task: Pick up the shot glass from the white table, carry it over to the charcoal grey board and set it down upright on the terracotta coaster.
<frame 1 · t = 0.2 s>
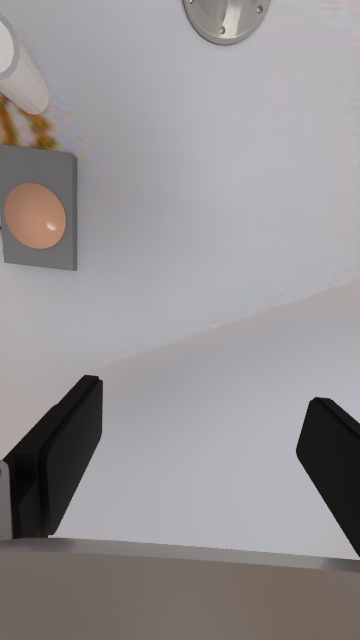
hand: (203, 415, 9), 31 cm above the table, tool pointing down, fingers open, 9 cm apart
coaster: (36, 217, 35), resting on board
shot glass: (32, 94, 32), on the table
board: (42, 213, 36), on the table
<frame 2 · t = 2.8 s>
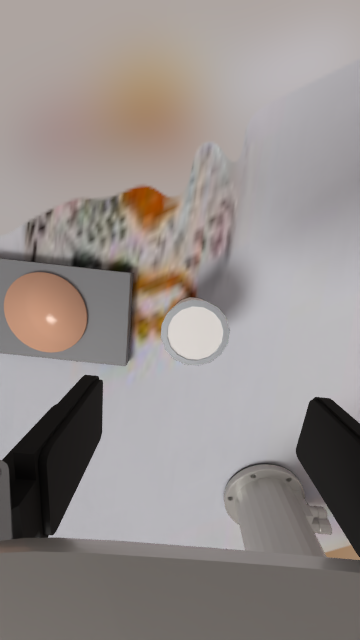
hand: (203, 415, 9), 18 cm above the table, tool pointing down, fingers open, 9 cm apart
coaster: (47, 313, 26), resting on board
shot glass: (191, 318, 27), on the table
board: (62, 312, 27), on the table
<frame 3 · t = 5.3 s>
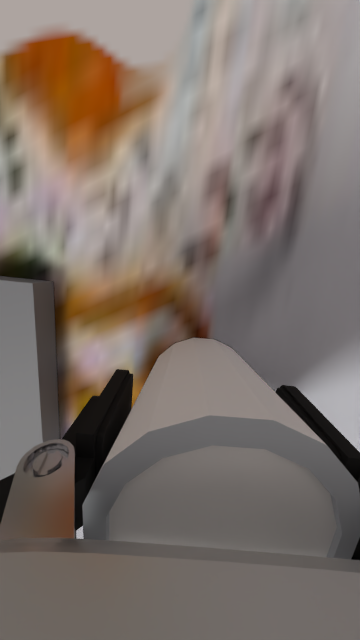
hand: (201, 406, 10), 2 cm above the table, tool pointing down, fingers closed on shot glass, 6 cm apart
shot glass: (198, 382, 12), on the table, touching gripper
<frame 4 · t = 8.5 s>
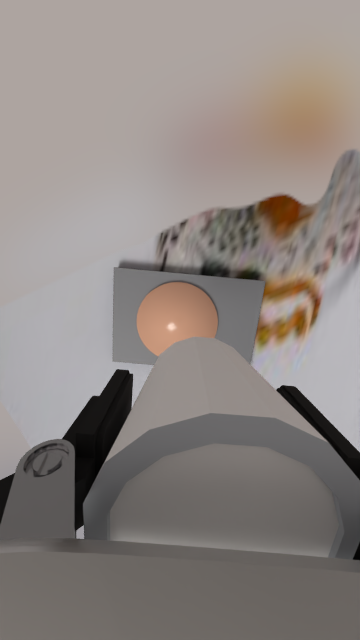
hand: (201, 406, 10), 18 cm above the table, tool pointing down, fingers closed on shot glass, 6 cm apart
coaster: (177, 322, 26), resting on board
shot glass: (198, 381, 12), point 16 cm above the table, touching gripper
board: (185, 320, 27), on the table
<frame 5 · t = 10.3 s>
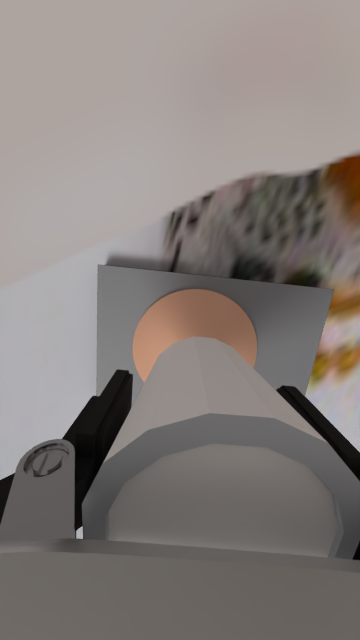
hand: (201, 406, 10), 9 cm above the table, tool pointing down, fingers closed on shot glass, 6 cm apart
coaster: (194, 349, 17), resting on board
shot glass: (198, 381, 12), point 7 cm above the table, touching gripper
board: (204, 344, 18), on the table
when the fingers open (5 cm above the table, at t = 11.6 s): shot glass drops 1 cm, resting on coaster.
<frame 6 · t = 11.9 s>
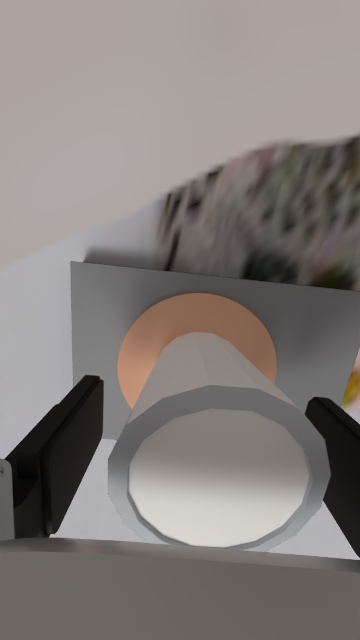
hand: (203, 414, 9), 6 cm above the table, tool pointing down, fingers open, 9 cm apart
coaster: (196, 369, 13), resting on board
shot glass: (198, 372, 13), point 2 cm above the table, touching coaster
board: (208, 361, 15), on the table
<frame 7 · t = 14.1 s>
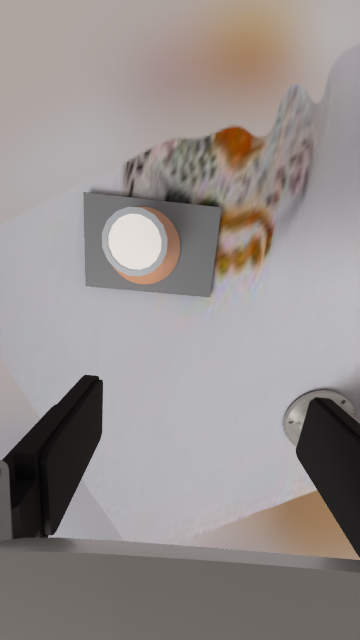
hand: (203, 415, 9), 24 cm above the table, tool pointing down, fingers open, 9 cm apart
coaster: (143, 247, 28), resting on board
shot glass: (144, 248, 28), point 2 cm above the table, touching coaster
board: (152, 249, 30), on the table
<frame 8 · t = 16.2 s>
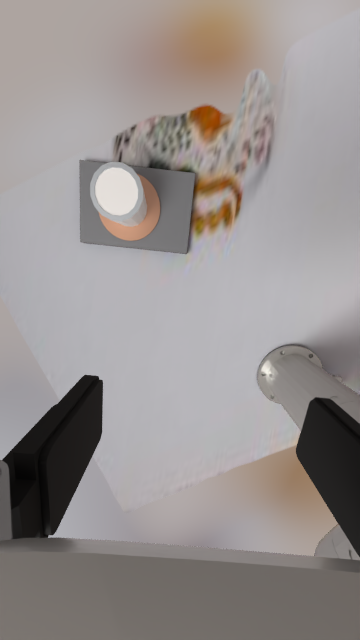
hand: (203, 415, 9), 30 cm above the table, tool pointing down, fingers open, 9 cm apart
coaster: (129, 208, 33), resting on board
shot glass: (129, 208, 33), point 2 cm above the table, touching coaster
board: (137, 211, 35), on the table
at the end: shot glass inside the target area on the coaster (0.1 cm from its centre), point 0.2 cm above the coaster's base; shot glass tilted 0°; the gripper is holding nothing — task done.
